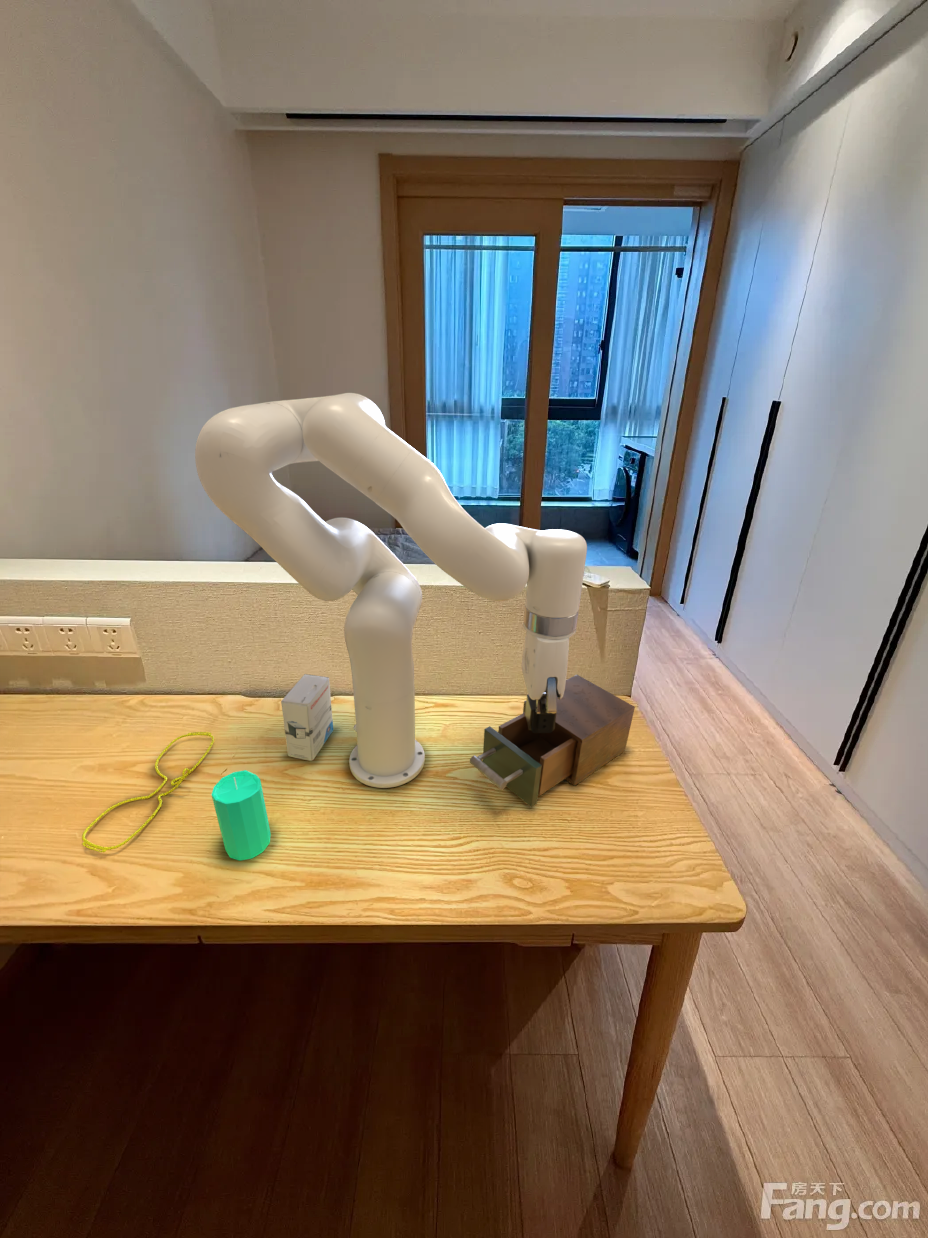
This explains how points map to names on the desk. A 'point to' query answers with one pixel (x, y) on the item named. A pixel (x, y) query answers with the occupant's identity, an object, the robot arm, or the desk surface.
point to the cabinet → (592, 725)
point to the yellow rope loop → (148, 796)
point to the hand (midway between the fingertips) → (539, 721)
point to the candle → (242, 815)
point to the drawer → (525, 758)
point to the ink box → (307, 716)
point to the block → (529, 711)
